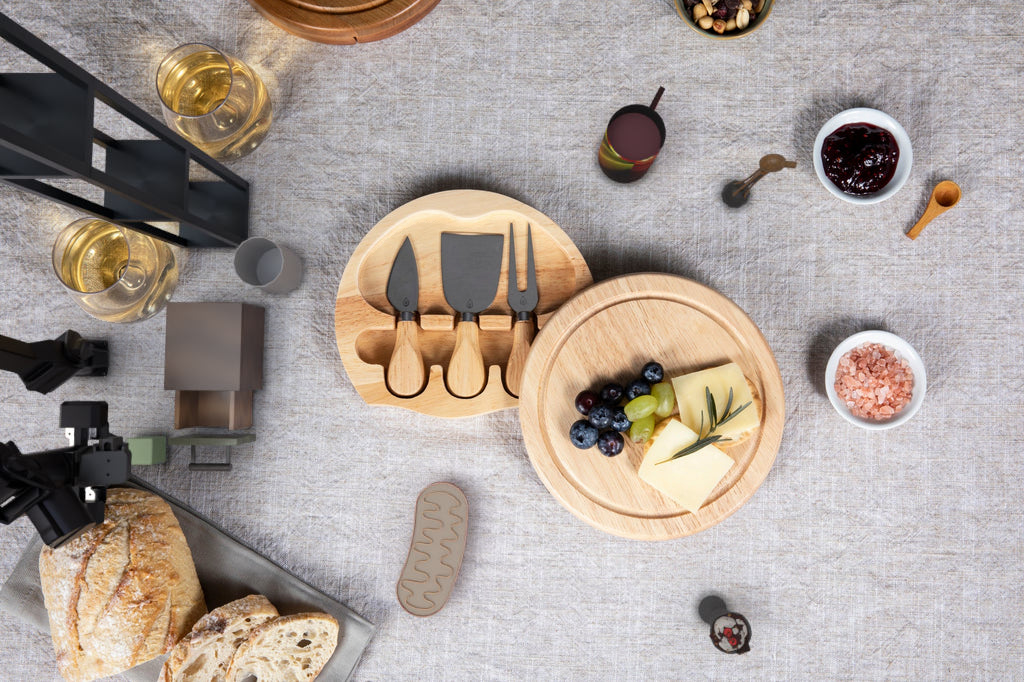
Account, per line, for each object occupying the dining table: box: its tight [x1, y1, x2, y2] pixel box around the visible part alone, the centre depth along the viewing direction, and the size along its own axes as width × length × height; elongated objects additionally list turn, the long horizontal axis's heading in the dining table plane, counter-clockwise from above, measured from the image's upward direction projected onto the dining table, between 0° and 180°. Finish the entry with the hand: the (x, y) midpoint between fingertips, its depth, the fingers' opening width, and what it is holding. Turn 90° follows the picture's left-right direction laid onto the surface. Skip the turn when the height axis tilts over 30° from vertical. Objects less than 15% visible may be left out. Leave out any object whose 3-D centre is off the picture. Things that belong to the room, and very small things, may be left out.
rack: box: [0, 11, 250, 250], centre depth 87 cm, size 12×12×66 cm
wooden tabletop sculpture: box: [720, 153, 798, 209], centre depth 109 cm, size 6×5×20 cm
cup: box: [232, 236, 305, 295], centre depth 115 cm, size 8×8×10 cm
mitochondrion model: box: [395, 481, 469, 619], centre depth 114 cm, size 23×10×5 cm, turn 167°
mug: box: [597, 85, 667, 184], centre depth 114 cm, size 10×14×12 cm
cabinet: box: [163, 301, 265, 391], centre depth 114 cm, size 15×13×10 cm
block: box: [126, 435, 167, 466], centre depth 116 cm, size 4×4×4 cm
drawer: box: [168, 390, 257, 473], centre depth 114 cm, size 18×11×8 cm, turn 0°
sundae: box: [698, 595, 753, 656], centre depth 108 cm, size 7×7×15 cm
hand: (116, 456), depth 107 cm, fingers open, 6 cm apart
